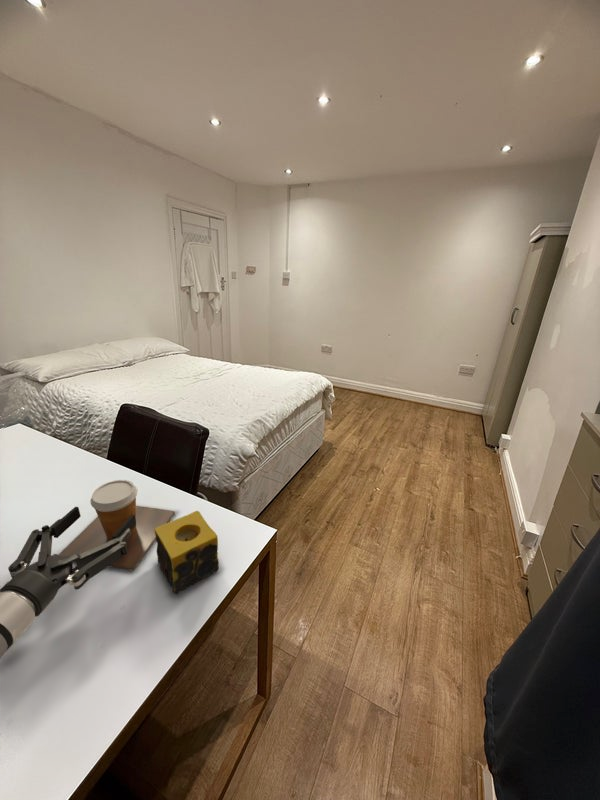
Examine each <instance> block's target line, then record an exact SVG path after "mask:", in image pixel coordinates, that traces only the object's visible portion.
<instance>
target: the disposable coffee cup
mask: <svg viewBox="0 0 600 800" xmlns="http://www.w3.org/2000/svg"><path fill="white" fill-rule="evenodd" d="M137 495H138V488H137V486H136V485H135V484H134V483H133V482H132V481H130V480H127V479H115V480H112V481H108V482H106V483H102V484H101V485H100V486H98V487H97V488H96V489H95V490H94V491H93V492H92V494H91V498H90V501H89V502H90V505H91V507H92V508H93V509H94V510H95V512H96V513H95V514H96V515H97V517H99V520H100V522H101V524H102V527H103V529H104V531H105V533H106V536H107V538H108V539H109V540H113V539H112V536H113V535H114V534H115V533H116V532H117V530H118V529H119V528H120V527H121V526H122V525H123V524H124V523H125V521H126V520H127V519H128V518H129V517H130V516H131V515H135V519H136V506H137ZM135 530H136V526H135V527H134V528H133V529H132V530H131V535H132V534H133V533H134V532H135ZM131 535H130V536H131Z"/></svg>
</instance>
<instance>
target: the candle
mask: <svg viewBox="0 0 600 800" xmlns="http://www.w3.org/2000/svg"><path fill="white" fill-rule="evenodd" d="M154 532H155V537H156V540H155V541H156V543H157V544H156V557H157V564H158V565H159V568H160V570H161V572H162V573H163V576H164V578H165V579H166V581H167V584H169V586H170V588H171V589H172V593H173V594H174V595H177V594H179V593H180V592H182V591H184V590H186V589H188V588H190V587H191V586H194V585H196V584H197V583H199V582H200V581H202V580H203V579H206V578H208V577H209V576H210V575H213V574H215V573H217V572H218V571H219V569H220V567H219V558H218V557H219V553H218V550H219V539H218V535H217V533H216V531H214V530H213V529H212V527H211V526H210V525H209V524H208V523H207V521H206V520H205V517H203V515H202V514H201V512H200V511H199V510H195V511H192V512H191V513H188V514H187V515H183V516H181V517H178V518H176V519H174V520H172V521H171V520H170V521H169V522H168V523H166V524H164V525H161V526H159V527H156V528H155V529H154Z"/></svg>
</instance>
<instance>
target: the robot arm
mask: <svg viewBox="0 0 600 800" xmlns="http://www.w3.org/2000/svg"><path fill="white" fill-rule="evenodd" d="M81 516H82V515H81V512H80V508H79V506H74V507H73V508H71V509H70V510H69V511H68V512H67V513H66V514H65V515H63V516H62V517H61V518H58V519H57V520H56V521H55V522H54V523H52V524H51V525H50V526H49V525H48V524H45V525H43V526H42V527H41V528H40V529H41V530H40V529H38V528H37V529H33V530H32V531H31V533H30V534H29V536H28V538H27V539H26V541H25V543H24V545H23V547H22V549H21V550H20V552H19V554H18V556H17V558H16V559H14V561H13V562H12V563H11V564H10V565H9V566H8V568H7V569H8V572H9V575H10V577H11V578H10V579H9V580H8V581H7V583H5V584H4V585H3V586H2V587H1V588H0V659H2V657H3V656H4V655H5V654H6V653H7V652H8V650H9V649H10V648H11V647H12V646H13V645H14V644H15V643H16V641H18V640H19V638H20V637H21V636H22V635H23V634H24V633H25V631H26V630H27V629H29V627H30V626H31V625H32V624H33V622H34V621H35V619H36V618H37V617H39V616H40V615H41V614H42V613H43V612H44V610H45V609H46V608H47V607H48V606H49V605H50V604H51V603H52V602H53V600H54V599H55V598H56V596H57V594H58V592H59V590H60V589H61V588H62V587H64V586H66V585H71V586H73V588H74V590H76V591H77V590H79V589H81V588H82V587H83V586H84V585H85V584H86V583H87V582H89V580H91V579H92V578H94V577H95V576H97V575H99V573H101V572H103V571H104V570H105V569H107V568H108V567H109V566H110V565H111V564H113V563H114V562H116V561H117V560H119V559H120V558H122V557H123V556H125V555H126V554H127V548H126V543H125V542H126V540H127V539H128V538H129V537H130V535H131V530H132V529H133V528H134V527H135V526H136V519H135V515H131V516H130V517H129V518H128V519H127V520H126V521H125V523H124V524H123V525H122V526H121V527H120V528H119V529H118V530H117V532H116V533H115V534H114V535H113V536H112V539H113V540H111V541H109V542H107V543H105V544H102V545H100V546H98V547H96V548H93V549H91V550H89V551H87V552H84V553H82V554H75V555H73V556H70V557H69V556H60V555H59V554H57V553H53V554H52V549H53V548H52V547H53V539H54V538H55V539H58V538H59V537H61V535H63V533H65V532H66V531H67V530H68V529H69V528H70V527H71V526H72V525H73V524H75V522H76V521H78V520H79V519H80V518H81ZM113 546H114V547H113ZM112 547H113V548H112ZM38 548H39V552H38V557H37V558H38V559H37V561H35V562H33V563H31V562H32V560H33V558H34V556H35V554H36V552H37V550H38ZM74 563H75V567H73V566H74V565H73V564H74Z"/></svg>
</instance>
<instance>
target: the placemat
mask: <svg viewBox="0 0 600 800" xmlns="http://www.w3.org/2000/svg"><path fill="white" fill-rule="evenodd" d="M175 514H176V512H175V510H169V509H162V508H155V507H149V506H140V505H136V530H135V532H134V533H133V534H132V535H131V536H130V537H129V538H128V539H127V540H126V542H125V543H126V548H127V554H126V555H125V556H123V557H122V558H120V559H119V560H117V561H116V562H114V563H113V564H111V565H110V566H108V567H111V568H116V569H122V570H127V571H135V570H136V569H137V567H138V566H139V564H140V563H141V561H142V560H143V559H144V557H145V556H146V555H147V553H148V552H149V550H150V549H151V547H152V546H153V544H154V543H156V541H157V540H156V537H155V532H154V529H155V528H156V527H159V526H161V525H164V524H166V523H169V522H171V519H172V518H173V517H174V515H175ZM109 541H111V540H109V539H108V538H107V536H106V533H105V531H104V529H103V527H102V524H101V522H100V520H99V517H98V516H97V517H96V518H94V520H93V521H91V523H89V524H88V525H87V526H86V527H85V528H84V529H83V530H82V531H81V532H80V533H79V534H78V535H77V536H76V537H75V538H74V539H73V540H72V541H70V543H69V544H68V545H67V546H66V547H65V548H64V549H63V550H61V552H59V554H58V555H60V556H69V557H70V556H73V555H75V554H82V553H84V552H87V551H89V550H91V549H93V548H96V547H98V546H100V545H102V544H105V543H107V542H109ZM113 547H114V546H113ZM113 547H112V548H113Z"/></svg>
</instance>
